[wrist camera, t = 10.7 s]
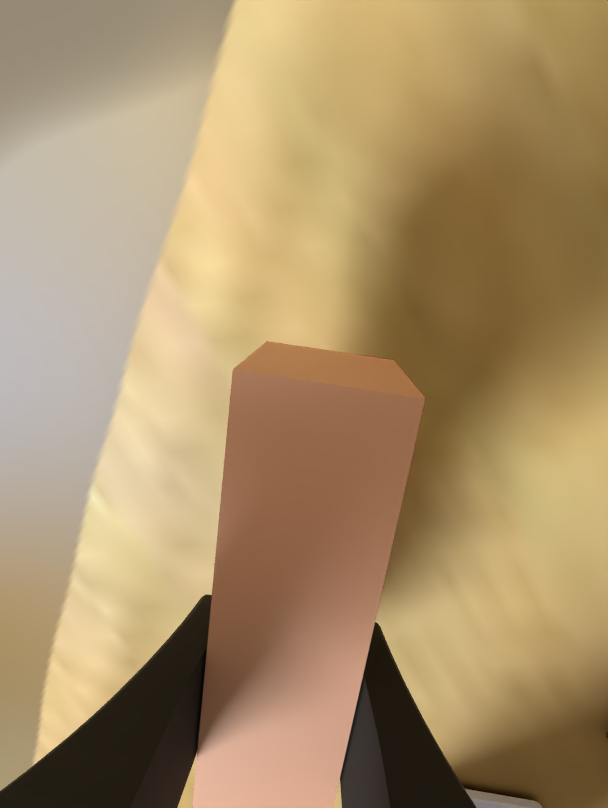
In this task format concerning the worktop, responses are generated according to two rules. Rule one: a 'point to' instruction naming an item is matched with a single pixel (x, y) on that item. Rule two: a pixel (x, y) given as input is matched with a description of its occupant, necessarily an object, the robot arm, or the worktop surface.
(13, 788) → the robot arm
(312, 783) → the bar
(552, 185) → the worktop surface
